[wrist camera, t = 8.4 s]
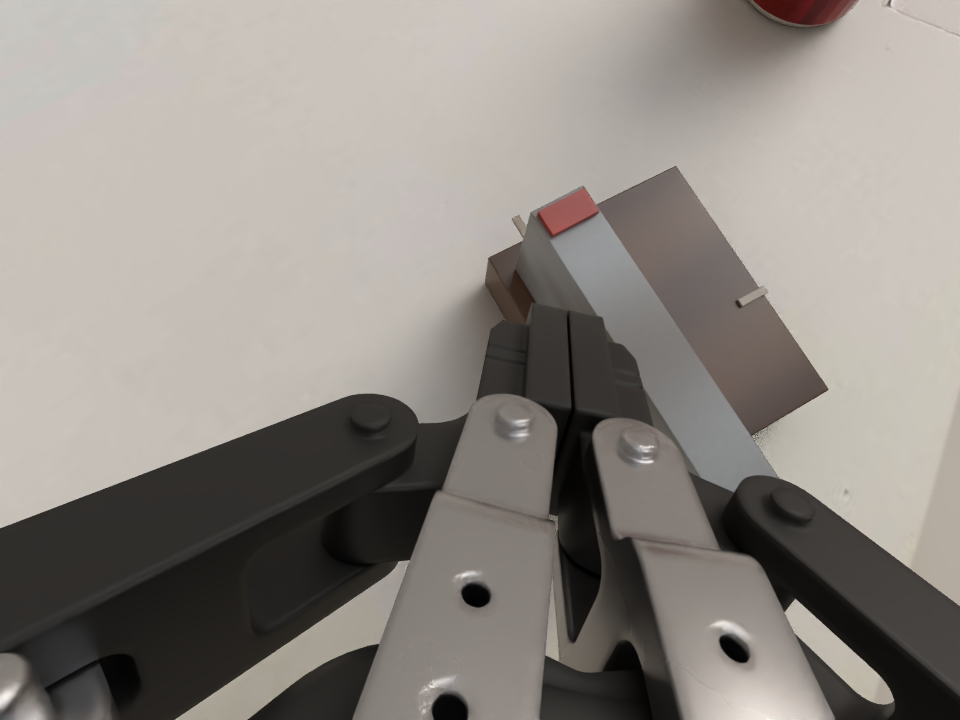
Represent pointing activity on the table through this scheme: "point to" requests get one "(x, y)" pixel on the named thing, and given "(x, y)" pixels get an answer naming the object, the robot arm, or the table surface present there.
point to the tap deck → (694, 298)
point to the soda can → (804, 11)
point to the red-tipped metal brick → (637, 334)
